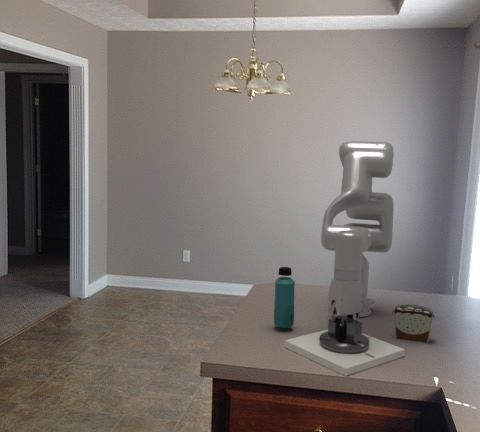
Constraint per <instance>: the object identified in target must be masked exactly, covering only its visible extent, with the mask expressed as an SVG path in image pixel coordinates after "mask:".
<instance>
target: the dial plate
mask: <svg viewBox="0 0 480 432" xmlns="http://www.w3.org/2000/svg"><path fill="white" fill-rule="evenodd" d="M325 332H328V329H324V330H320V331H317V332H312V333H308V334H303V335H301V336H296V337H292V338H289V339H285V340H284V346H283V347H284V348H286V349H287V350H290V351H292V352H294V353H296V354H299V355H300V356H303V357H304V358H306V359H309V360H311V361H313V362H315V363H316V364H320V365H322V366H323V367H325V368H327V369H330V370H332V371H334V372H336V373H338V374H341V375H342V376H345V377H347V376H351V375H353V374H356V373H358V372H362V371H365V370H369V369H371V368H373V367H377V366H380V365H382V364H386V363H389V362H392V361H395V360H398V359H400V358H403V357H405V354H406V348H403V347H400V346H397V345H394V344H391V343H388V342H386V341H384V340H382V339H378V338H375V337H373V336H370V335H368V334H365V333H363V332H362V335H364V336H365V337H367V338H368V339H369V349H368V350H366V351H364V352H361V353H353V354H347V353H338V352H333V351H330V350H327V349H325V348H323V347H322V346H321V345H320V344H319V338H320V335H321V334H322V333H325Z"/></svg>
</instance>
